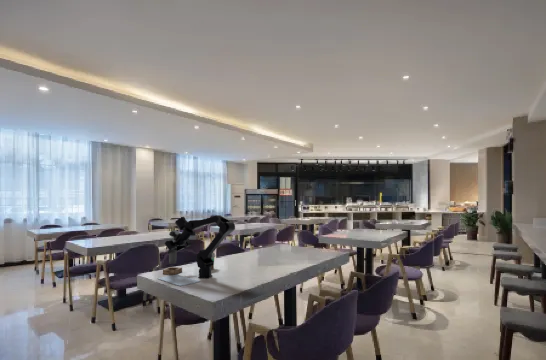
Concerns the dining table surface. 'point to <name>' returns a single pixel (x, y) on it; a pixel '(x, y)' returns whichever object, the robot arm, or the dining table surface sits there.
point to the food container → (212, 259)
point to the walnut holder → (172, 270)
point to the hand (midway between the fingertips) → (171, 252)
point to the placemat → (178, 280)
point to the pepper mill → (172, 257)
